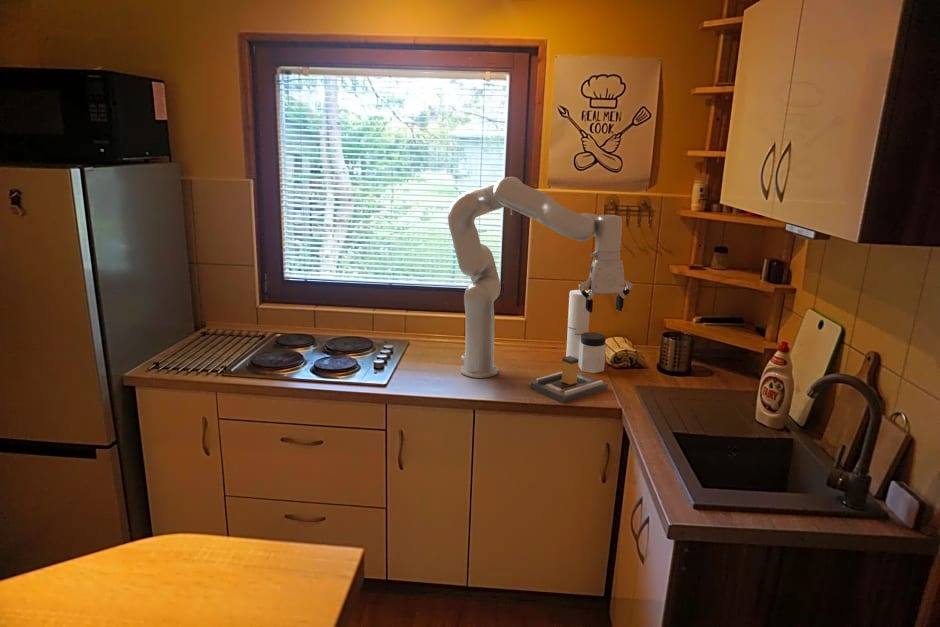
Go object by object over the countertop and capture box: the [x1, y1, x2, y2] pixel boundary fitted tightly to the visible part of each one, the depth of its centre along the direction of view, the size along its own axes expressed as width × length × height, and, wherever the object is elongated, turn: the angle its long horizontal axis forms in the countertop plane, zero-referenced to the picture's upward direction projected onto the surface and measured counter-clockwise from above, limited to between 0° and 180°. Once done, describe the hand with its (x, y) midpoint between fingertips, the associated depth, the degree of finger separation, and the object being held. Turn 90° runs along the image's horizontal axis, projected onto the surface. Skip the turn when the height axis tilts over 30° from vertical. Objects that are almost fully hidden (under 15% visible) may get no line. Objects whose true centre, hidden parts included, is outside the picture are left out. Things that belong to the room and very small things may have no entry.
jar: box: [578, 331, 607, 374], centre depth 214 cm, size 9×8×12 cm
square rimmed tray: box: [535, 371, 604, 395], centre depth 197 cm, size 14×16×1 cm
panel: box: [529, 371, 609, 405], centre depth 198 cm, size 15×19×2 cm
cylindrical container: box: [565, 289, 590, 365], centre depth 221 cm, size 7×7×25 cm
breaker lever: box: [561, 356, 579, 385], centre depth 196 cm, size 4×3×8 cm
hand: (604, 310), depth 196 cm, fingers open, 9 cm apart
